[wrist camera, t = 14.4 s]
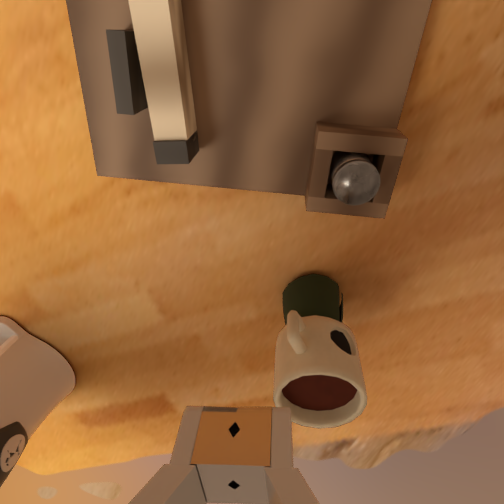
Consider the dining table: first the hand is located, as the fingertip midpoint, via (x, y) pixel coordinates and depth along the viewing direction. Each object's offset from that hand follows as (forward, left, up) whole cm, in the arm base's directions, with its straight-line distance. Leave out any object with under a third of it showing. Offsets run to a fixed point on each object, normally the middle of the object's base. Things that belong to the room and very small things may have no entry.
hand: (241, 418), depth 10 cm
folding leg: (-8, +8, -22) cm, 25 cm away
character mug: (+5, -14, -24) cm, 29 cm away
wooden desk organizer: (-3, +9, -24) cm, 26 cm away
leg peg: (+6, +1, -22) cm, 23 cm away
